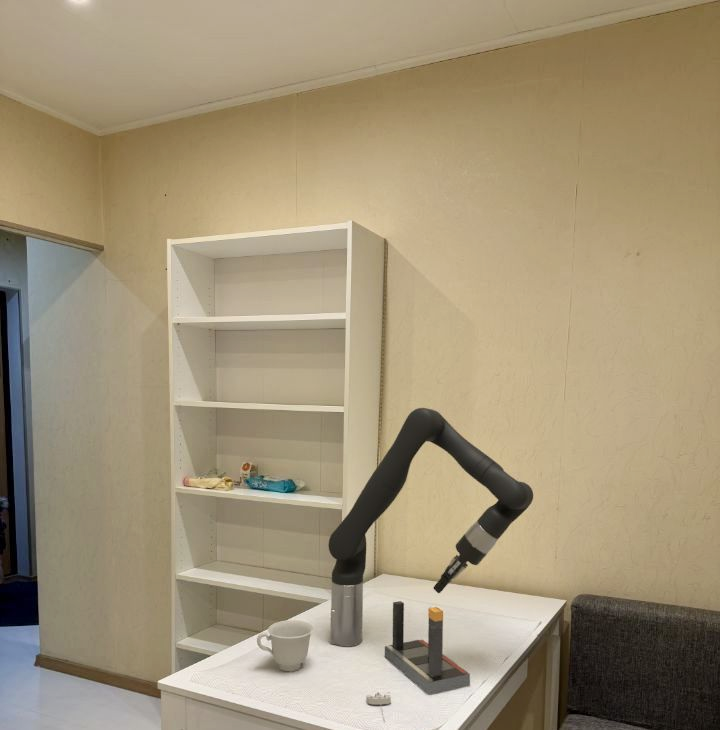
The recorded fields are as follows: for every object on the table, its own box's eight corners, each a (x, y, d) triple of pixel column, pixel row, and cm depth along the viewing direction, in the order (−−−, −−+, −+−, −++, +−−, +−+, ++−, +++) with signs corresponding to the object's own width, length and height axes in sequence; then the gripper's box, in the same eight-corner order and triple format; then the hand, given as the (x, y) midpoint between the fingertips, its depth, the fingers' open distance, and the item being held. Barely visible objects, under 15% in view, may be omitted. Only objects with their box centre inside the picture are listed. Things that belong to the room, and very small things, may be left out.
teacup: (252, 661, 169) (252, 624, 169) (305, 654, 174) (306, 617, 174) (261, 681, 157) (262, 641, 158) (318, 673, 163) (319, 634, 163)
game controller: (384, 696, 152) (385, 685, 152) (407, 720, 141) (407, 708, 141) (363, 700, 150) (363, 689, 150) (384, 725, 139) (384, 713, 139)
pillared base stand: (428, 695, 152) (429, 632, 152) (384, 657, 173) (385, 601, 173) (469, 685, 157) (470, 624, 158) (422, 650, 178) (422, 596, 178)
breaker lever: (434, 659, 164) (435, 612, 165) (427, 654, 167) (428, 608, 168) (442, 657, 165) (443, 610, 166) (435, 652, 168) (436, 606, 169)
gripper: (471, 528, 172) (432, 575, 175) (460, 536, 160) (418, 585, 163) (492, 548, 170) (453, 594, 172) (483, 557, 158) (440, 607, 160)
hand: (436, 590), depth 168 cm, fingers closed
